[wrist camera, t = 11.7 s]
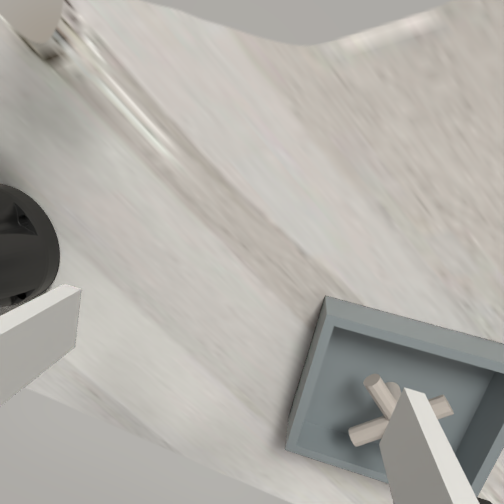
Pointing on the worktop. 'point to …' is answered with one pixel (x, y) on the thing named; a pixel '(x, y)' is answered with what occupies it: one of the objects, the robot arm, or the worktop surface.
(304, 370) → the bin
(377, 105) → the worktop surface
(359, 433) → the pipe connector
